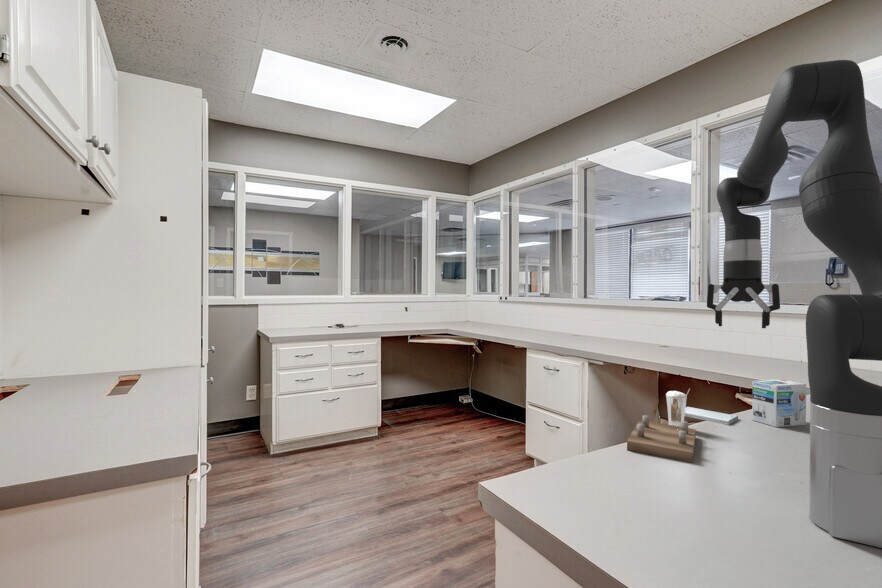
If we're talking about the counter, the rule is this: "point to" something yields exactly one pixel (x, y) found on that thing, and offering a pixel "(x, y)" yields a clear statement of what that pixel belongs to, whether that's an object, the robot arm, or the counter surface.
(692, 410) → the hard drive
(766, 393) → the light bulb box
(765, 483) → the counter surface
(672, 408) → the milkshake
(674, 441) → the peg plinth
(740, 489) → the counter surface
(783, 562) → the counter surface
